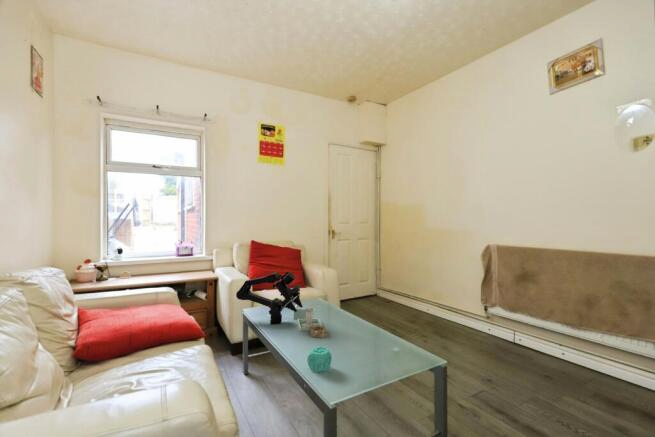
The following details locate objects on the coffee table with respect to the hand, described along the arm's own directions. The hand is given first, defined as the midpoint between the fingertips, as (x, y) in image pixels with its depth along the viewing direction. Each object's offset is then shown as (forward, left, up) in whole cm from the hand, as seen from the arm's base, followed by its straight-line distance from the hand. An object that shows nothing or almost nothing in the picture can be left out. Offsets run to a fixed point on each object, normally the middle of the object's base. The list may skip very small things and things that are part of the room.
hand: (299, 309), depth 179 cm
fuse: (+6, -3, -9) cm, 12 cm away
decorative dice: (+3, -51, -11) cm, 52 cm away
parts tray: (+6, -3, -10) cm, 12 cm away
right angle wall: (+5, +16, -11) cm, 21 cm away
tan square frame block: (+9, -16, -10) cm, 21 cm away
